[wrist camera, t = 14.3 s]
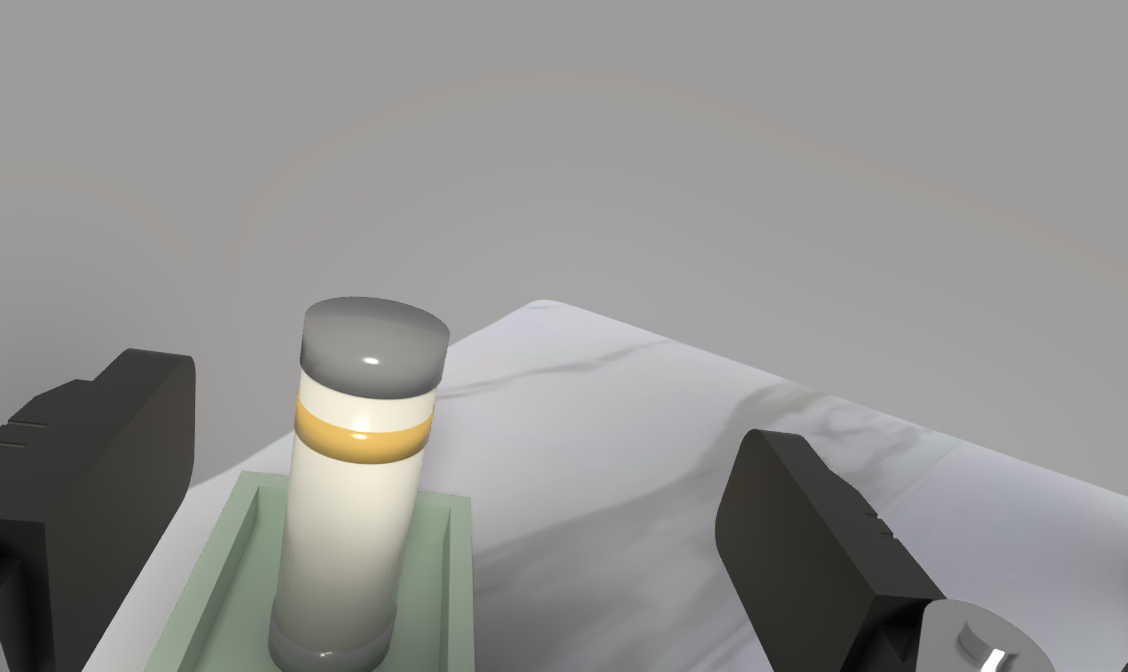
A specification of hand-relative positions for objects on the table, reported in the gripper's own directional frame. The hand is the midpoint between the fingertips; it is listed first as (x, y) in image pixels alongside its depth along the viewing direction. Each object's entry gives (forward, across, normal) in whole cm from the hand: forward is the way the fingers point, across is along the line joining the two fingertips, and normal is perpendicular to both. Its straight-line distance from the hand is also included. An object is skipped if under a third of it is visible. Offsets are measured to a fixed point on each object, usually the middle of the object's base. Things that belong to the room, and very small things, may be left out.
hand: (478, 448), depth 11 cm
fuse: (+14, +3, +18) cm, 23 cm away
